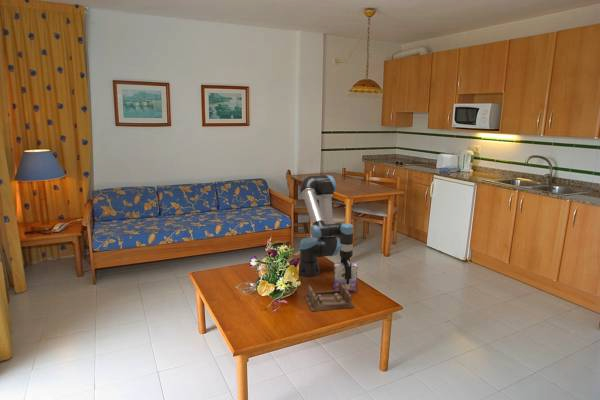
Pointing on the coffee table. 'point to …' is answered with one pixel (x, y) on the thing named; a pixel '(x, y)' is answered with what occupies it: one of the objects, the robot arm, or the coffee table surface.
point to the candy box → (340, 276)
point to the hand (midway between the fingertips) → (345, 286)
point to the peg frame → (329, 299)
